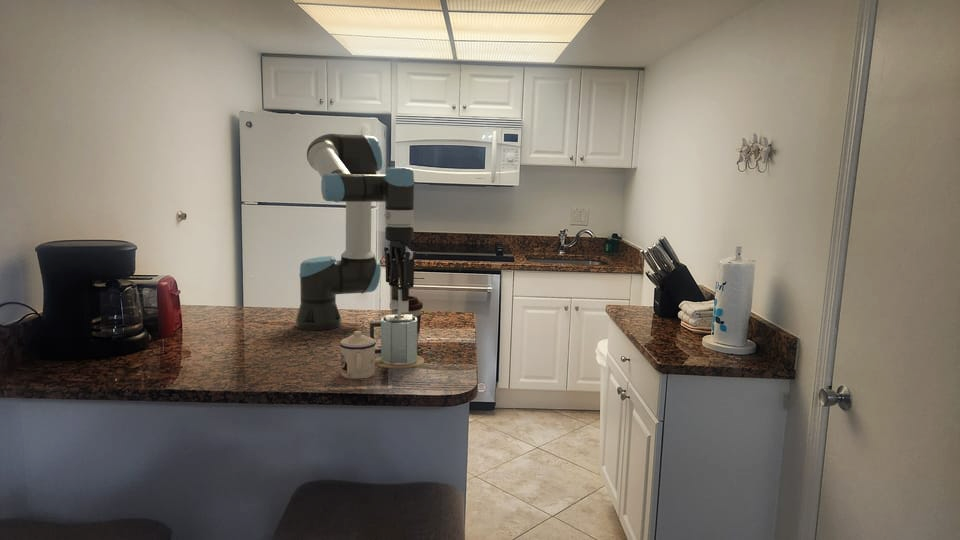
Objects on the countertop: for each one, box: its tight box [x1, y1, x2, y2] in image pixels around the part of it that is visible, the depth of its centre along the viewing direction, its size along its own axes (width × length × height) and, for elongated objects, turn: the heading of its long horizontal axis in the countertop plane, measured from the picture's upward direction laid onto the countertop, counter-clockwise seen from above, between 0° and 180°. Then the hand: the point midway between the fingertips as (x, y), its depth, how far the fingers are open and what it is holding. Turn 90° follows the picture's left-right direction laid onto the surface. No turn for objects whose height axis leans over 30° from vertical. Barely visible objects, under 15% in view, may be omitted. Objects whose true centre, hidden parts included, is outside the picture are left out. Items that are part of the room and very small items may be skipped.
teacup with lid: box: [339, 330, 377, 379], centre depth 155 cm, size 12×9×12 cm
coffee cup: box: [391, 295, 424, 346], centre depth 184 cm, size 10×10×15 cm
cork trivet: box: [375, 354, 425, 369], centre depth 168 cm, size 14×14×1 cm
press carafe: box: [369, 314, 418, 366], centre depth 167 cm, size 10×13×12 cm
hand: (399, 310), depth 166 cm, fingers closed on plunger, 4 cm apart
